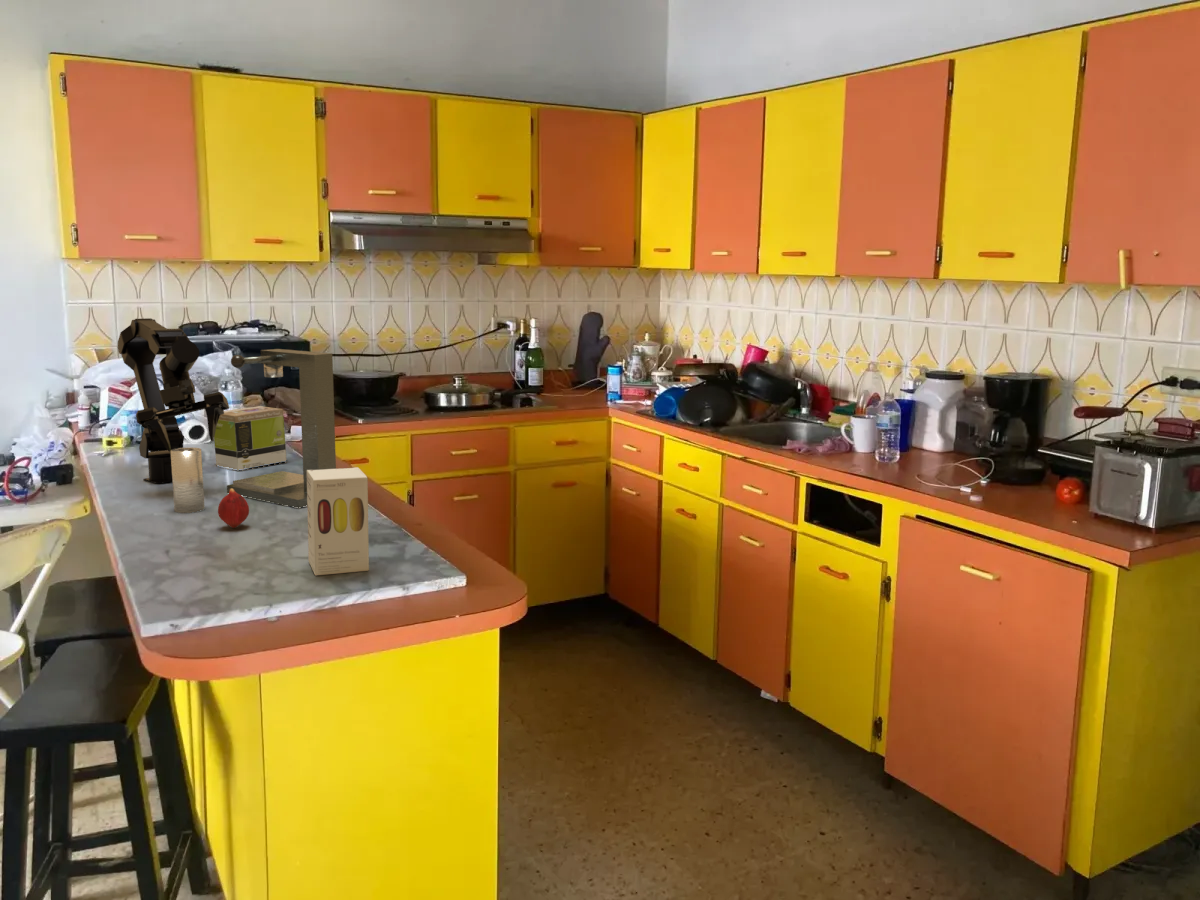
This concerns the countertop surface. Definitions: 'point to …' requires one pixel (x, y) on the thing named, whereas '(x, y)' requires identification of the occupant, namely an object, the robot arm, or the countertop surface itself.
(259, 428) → the tea box
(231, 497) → the onion
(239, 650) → the countertop surface
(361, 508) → the supplement box
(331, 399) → the arbor press
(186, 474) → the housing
